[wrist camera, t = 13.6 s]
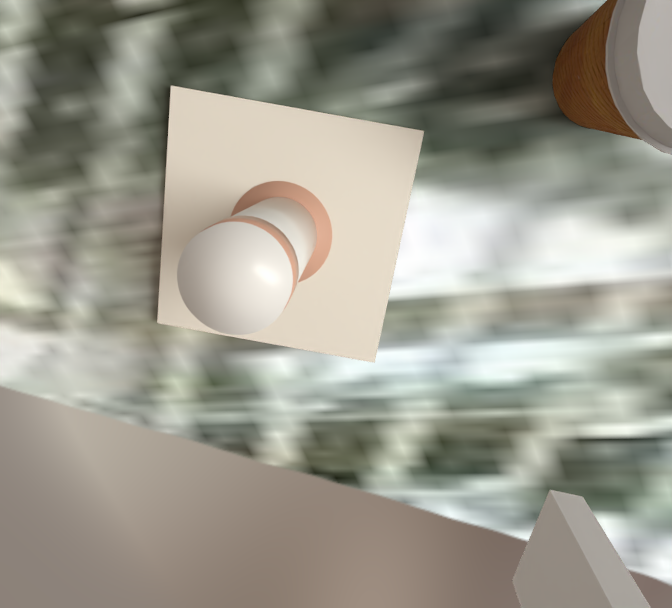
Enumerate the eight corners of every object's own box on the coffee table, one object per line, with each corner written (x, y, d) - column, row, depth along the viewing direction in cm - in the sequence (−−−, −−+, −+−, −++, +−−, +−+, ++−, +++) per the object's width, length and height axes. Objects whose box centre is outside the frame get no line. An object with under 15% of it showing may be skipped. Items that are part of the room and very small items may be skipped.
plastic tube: (247, 189, 32) (179, 213, 20) (323, 203, 32) (299, 234, 20) (238, 264, 33) (172, 324, 22) (311, 277, 33) (283, 345, 22)
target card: (174, 86, 31) (170, 85, 30) (423, 131, 31) (424, 131, 30) (160, 320, 36) (156, 323, 35) (374, 359, 36) (374, 363, 35)
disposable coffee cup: (516, 6, 28) (617, -89, 17) (690, -39, 27) (924, -174, 16) (532, 171, 31) (628, 185, 20) (691, 137, 30) (892, 130, 18)
